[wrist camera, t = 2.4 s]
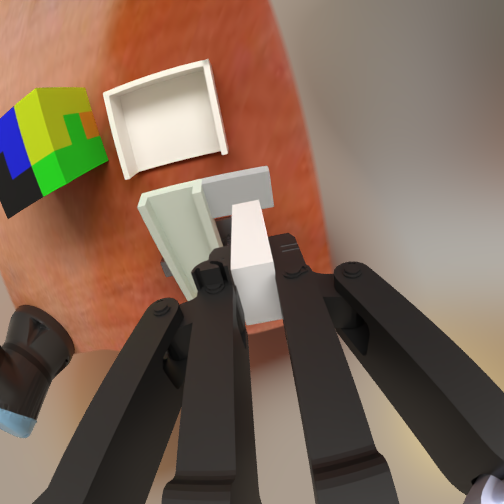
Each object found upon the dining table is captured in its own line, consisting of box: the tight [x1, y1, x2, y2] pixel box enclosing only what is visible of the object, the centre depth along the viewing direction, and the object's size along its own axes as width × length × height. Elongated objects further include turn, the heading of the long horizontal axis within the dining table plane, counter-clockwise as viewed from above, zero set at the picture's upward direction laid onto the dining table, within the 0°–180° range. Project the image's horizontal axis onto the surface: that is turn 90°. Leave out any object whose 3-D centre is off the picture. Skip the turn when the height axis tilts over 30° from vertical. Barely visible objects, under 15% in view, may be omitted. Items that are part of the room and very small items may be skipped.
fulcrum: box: [161, 216, 232, 277], centre depth 33 cm, size 6×10×4 cm, turn 100°
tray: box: [103, 59, 229, 180], centre depth 26 cm, size 11×10×4 cm
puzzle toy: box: [0, 87, 108, 219], centre depth 23 cm, size 10×10×10 cm
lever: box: [137, 166, 274, 301], centre depth 31 cm, size 20×12×3 cm, turn 11°
